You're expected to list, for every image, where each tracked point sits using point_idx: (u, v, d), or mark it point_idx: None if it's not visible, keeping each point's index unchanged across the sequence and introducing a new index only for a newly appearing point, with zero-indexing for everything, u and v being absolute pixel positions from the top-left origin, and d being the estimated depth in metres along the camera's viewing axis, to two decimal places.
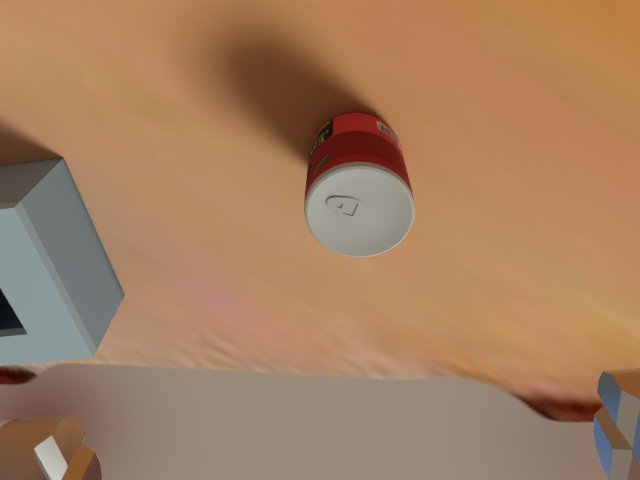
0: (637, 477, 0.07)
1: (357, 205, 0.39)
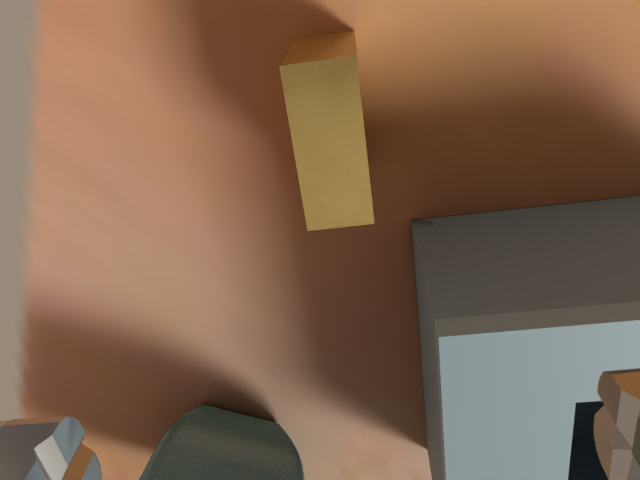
0: (637, 477, 0.07)
1: None
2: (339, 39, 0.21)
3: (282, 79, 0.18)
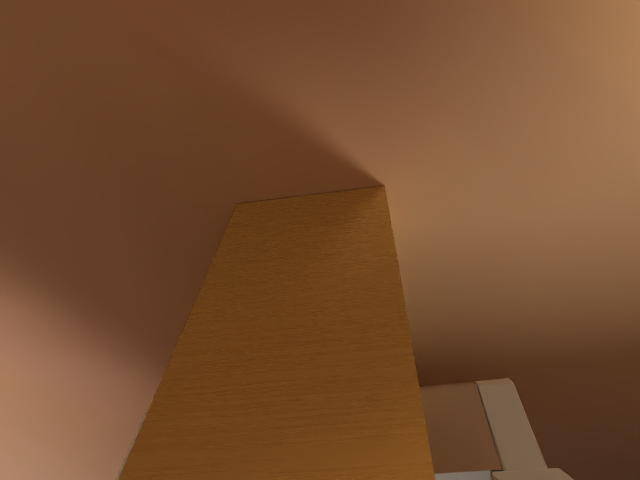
0: None
1: None
2: (350, 249, 0.07)
3: None
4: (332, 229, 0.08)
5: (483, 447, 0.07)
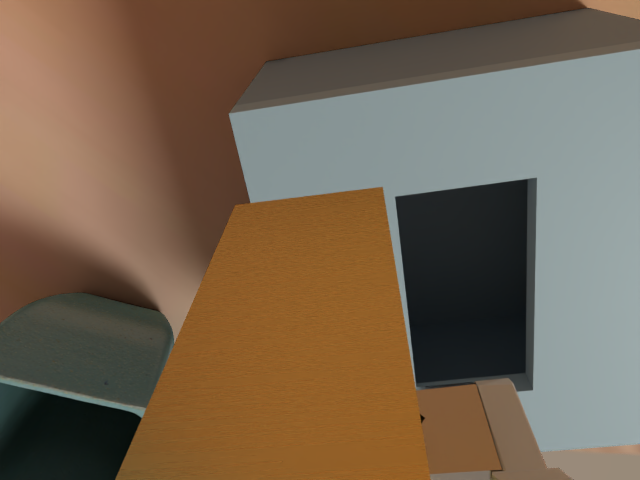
0: None
1: None
2: (347, 250, 0.07)
3: None
4: (330, 230, 0.08)
5: (483, 447, 0.07)
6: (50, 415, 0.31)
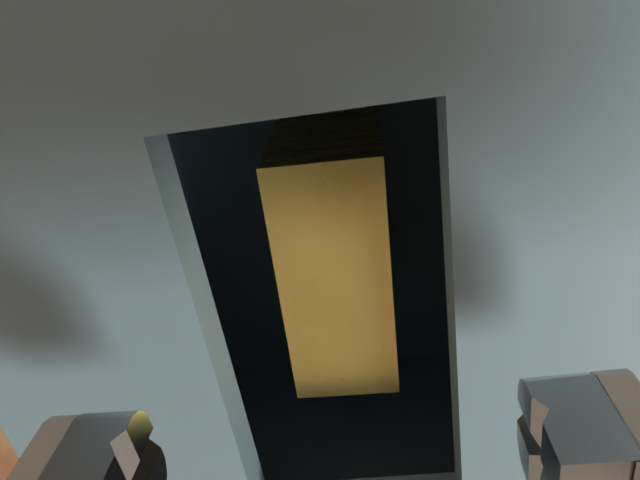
0: None
1: None
2: None
3: (261, 189, 0.11)
4: None
5: (619, 437, 0.07)
6: None
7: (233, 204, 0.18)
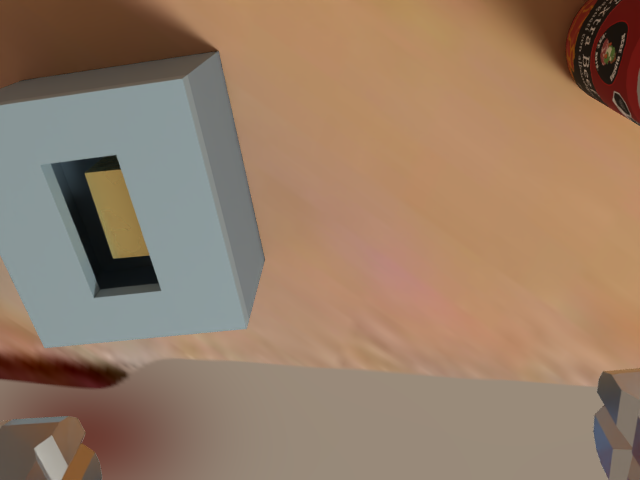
0: (637, 477, 0.07)
1: None
2: None
3: (87, 179, 0.33)
4: None
5: None
6: None
7: None
